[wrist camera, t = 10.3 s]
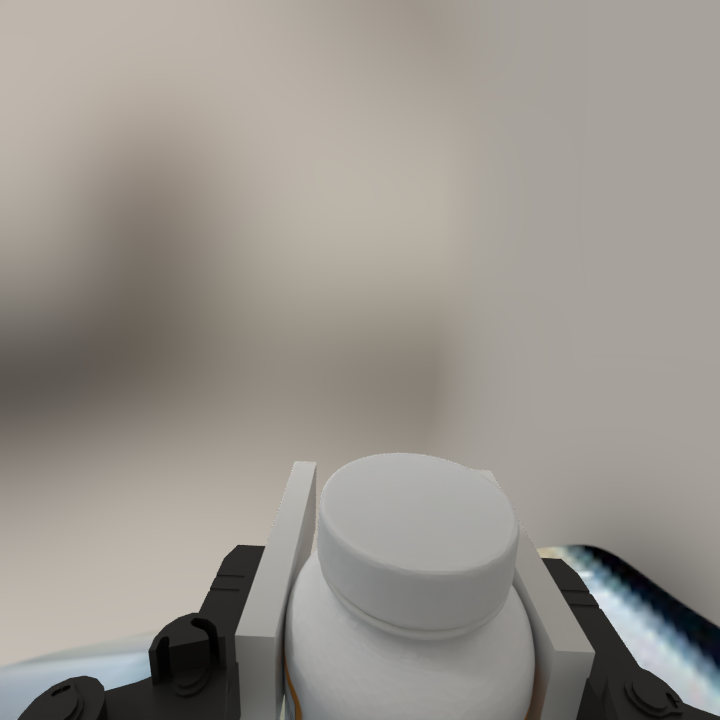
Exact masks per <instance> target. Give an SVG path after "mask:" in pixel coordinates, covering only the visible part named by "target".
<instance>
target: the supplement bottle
mask: <svg viewBox="0 0 720 720" xmlns="http://www.w3.org/2000/svg"><path fill="white" fill-rule="evenodd" d="M519 532H520V528H519V520H518V516H517V513H516V511H515V508H514V507H513V505H512V503H511V501H510V500H509V499H508V497H507V496H506V495H505V494H504V493H503V491H502V490H501V489H500V488H498V487H497V486H496V485H495V484H494V483H493V482H491V481H490V480H488V479H487V478H486V477H484V476H483V475H481V474H479V473H477V472H476V471H474V470H472V469H470V468H468V467H465V466H463V465H461V464H458V463H455V462H452V461H448V460H445V459H442V458H438V457H433V456H429V455H422V454H414V453H385V454H377V455H372V456H368V457H364V458H360V459H358V460H355V461H353V462H350V463H348V464H346V465H344V466H343V467H342V468H340V469H339V470H337V471H336V472H335V473H334V474H333V475H332V476H331V477H330V478H329V480H328V481H327V482H326V484H325V486H324V488H323V491H322V493H321V497H320V505H319V522H318V535H317V549H316V550H315V552H314V553H313V554H312V555H311V556H310V557H309V559H308V560H307V561H306V563H305V564H304V566H303V568H302V569H301V571H300V572H299V574H298V576H297V578H296V580H295V582H294V585H293V587H292V590H291V593H290V597H289V600H288V605H287V610H286V620H285V632H284V681H285V715H284V719H285V720H527V716H528V712H529V707H530V703H531V698H532V693H533V682H534V674H535V652H534V642H533V636H532V630H531V625H530V622H529V618H528V615H527V613H526V610H525V608H524V606H523V603H522V601H521V599H520V597H519V595H518V593H517V592H516V590H515V588H514V587H513V585H512V581H513V577H514V571H515V563H516V555H517V548H518V541H519Z"/></svg>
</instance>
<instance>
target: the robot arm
mask: <svg viewBox="0 0 720 720" xmlns="http://www.w3.org/2000/svg"><path fill="white" fill-rule="evenodd" d="M472 470H473V469H472ZM474 471H476V472H477V473H479V474H481V475H483V476H484V477H486V478H487V479H488V480H490V481H491V482H493V483H494V484H495V485H496V486H497V487H498V488H500V486H499V485H498V483H497V481H496V479H495V478H494V476H493V474H492V472H491V471H490V470H474ZM500 489H501V488H500ZM315 518H316V462H303V461H295V463H294V466H293V469H292V471H291V474H290V477H289V480H288V483H287V486H286V489H285V492H284V495H283V498H282V500H281V503H280V506H279V509H278V512H277V515H276V518H275V521H274V523H273V526H272V529H271V532H270V535H269V538H268V541H267V544H266V546H251V545H250V546H249V545H237V546H236V548H234V549H233V550H232V551H231V552H230V553H229V554H228V555H227V556H226V557H225V558H224V560H223V562H222V564H221V566H220V568H219V571H218V572H217V576H216V578H215V579H214V581H213V583H212V585H211V587H210V591H209V592H208V594H207V596H206V598H205V600H204V603H203V604H202V607H201V609H200V611H199V613H191V614H188V615H185V616H182V617H179V618H178V619H176V620H174V621H172V622H171V623H169V624H168V625H166V626H165V627H164V628H163V629H162V630H161V631H160V632H159V634H158V635H157V636H156V637H155V638H154V640H153V642H152V645H151V647H150V649H149V651H148V652H149V660H150V668H151V677H149V678H147V679H144V680H141V681H139V682H136V683H132V684H129V685H125V686H121V687H118V688H114V689H111V690H107V691H104V687H103V685H102V684H101V683H100V682H99V681H98V679H96V678H92V677H88V676H80V677H74V678H69V679H67V680H65V681H63V682H60V683H58V684H56V685H54V686H52V687H51V688H49V689H48V690H47V691H45V692H44V693H43V694H41V695H40V696H38V697H37V698H36V699H35V700H34V701H33V702H32V703H31V704H30V705H29V706H28V708H27V709H26V710H25V711H24V712H23V713H22V714H21V716H20V717H19V718H18V720H280V715H281V710H282V705H283V699H284V694H285V681H284V632H285V620H286V610H287V605H288V600H289V597H290V593H291V590H292V587H293V585H294V582H295V580H296V578H297V576H298V574H299V572H300V571H301V569H302V568H303V566H304V564H305V563H306V561H307V560H308V559H309V557H310V554H311V549H312V543H313V538H314V533H315V521H316V520H315ZM518 520H519V519H518ZM519 528H520V532H519V541H518V548H517V555H516V563H515V571H514V577H513V581H512V585H513V587H514V588H515V590H516V592H517V593H518V595H519V597H520V599H521V601H522V603H523V606H524V608H525V610H526V613H527V615H528V618H529V622H530V625H531V630H532V636H533V642H534V652H535V674H534V682H533V693H532V698H531V703H530V707H529V712H528V716H527V720H720V716H717V715H714V714H711V713H708V712H705V711H703V710H700V709H697V708H694V707H692V706H690V705H687V704H685V703H683V701H682V700H681V698H680V697H679V695H678V694H677V693H676V692H675V691H674V690H673V689H672V688H671V687H670V686H669V685H668V684H667V683H666V682H664V681H663V680H661V679H660V678H658V677H657V676H655V675H654V674H653V673H651V672H649V671H647V670H645V669H642V668H641V667H640V666H639V665H638V663H637V662H636V660H635V659H634V657H633V656H632V654H631V653H630V651H629V650H628V648H627V647H626V645H625V644H624V642H623V641H622V639H621V638H620V636H619V635H618V633H617V632H616V630H615V629H614V627H613V626H612V624H611V623H610V621H609V620H608V618H607V617H606V615H605V614H604V612H603V611H602V609H600V608H599V605H598V603H597V602H596V600H595V599H594V597H593V596H592V594H590V593H589V590H588V588H587V587H586V585H585V584H584V582H583V581H582V579H581V578H580V576H579V575H578V573H576V572H575V571H574V570H573V569H572V568H571V567H570V566H568V565H567V564H566V563H565V562H564V561H563V560H562V559H552V558H541V557H540V556H539V554H538V552H537V550H536V549H535V547H534V545H533V543H532V542H531V540H530V538H529V537H528V535H527V533H526V531H525V530H524V528H523V526H522V524H521V523H520V521H519Z"/></svg>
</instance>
